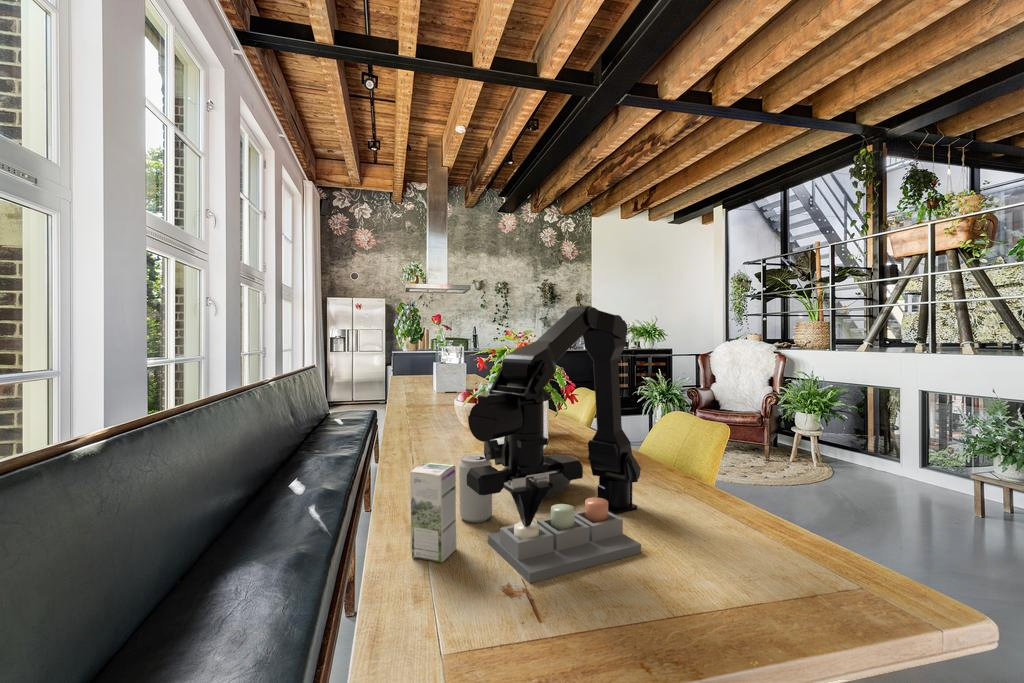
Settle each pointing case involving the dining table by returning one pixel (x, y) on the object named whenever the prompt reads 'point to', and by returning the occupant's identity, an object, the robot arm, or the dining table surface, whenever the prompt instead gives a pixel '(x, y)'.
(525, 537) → the cream button
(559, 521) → the sage button
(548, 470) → the robot arm
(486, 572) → the dining table surface
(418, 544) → the syrup box
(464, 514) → the beverage can
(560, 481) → the bowl
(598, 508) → the rust button
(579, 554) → the panel
